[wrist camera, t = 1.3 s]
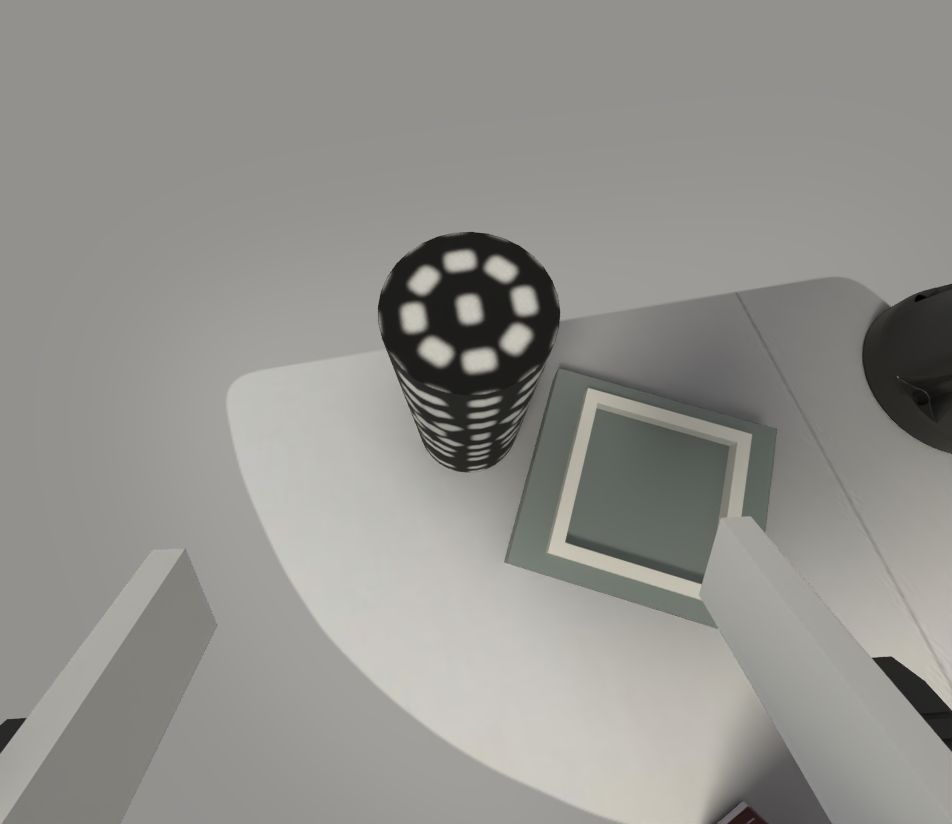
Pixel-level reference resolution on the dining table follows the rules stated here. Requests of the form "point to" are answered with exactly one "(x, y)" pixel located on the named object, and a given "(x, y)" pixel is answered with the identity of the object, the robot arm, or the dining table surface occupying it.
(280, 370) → the dining table surface
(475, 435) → the black polka dot cylinder
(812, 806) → the dining table surface
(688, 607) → the tray
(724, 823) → the supplement box
